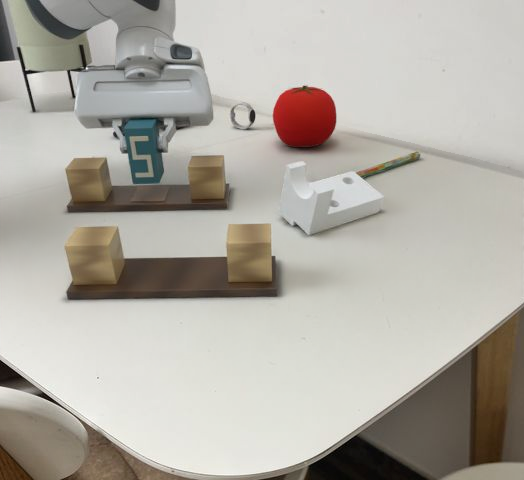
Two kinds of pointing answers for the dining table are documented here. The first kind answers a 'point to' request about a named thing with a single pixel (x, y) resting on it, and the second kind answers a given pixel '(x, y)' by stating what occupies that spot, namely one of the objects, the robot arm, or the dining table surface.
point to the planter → (46, 47)
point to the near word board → (170, 267)
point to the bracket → (325, 199)
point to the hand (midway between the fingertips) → (144, 151)
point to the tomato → (304, 116)
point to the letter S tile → (143, 151)
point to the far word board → (147, 188)
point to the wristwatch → (250, 116)
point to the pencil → (388, 164)
